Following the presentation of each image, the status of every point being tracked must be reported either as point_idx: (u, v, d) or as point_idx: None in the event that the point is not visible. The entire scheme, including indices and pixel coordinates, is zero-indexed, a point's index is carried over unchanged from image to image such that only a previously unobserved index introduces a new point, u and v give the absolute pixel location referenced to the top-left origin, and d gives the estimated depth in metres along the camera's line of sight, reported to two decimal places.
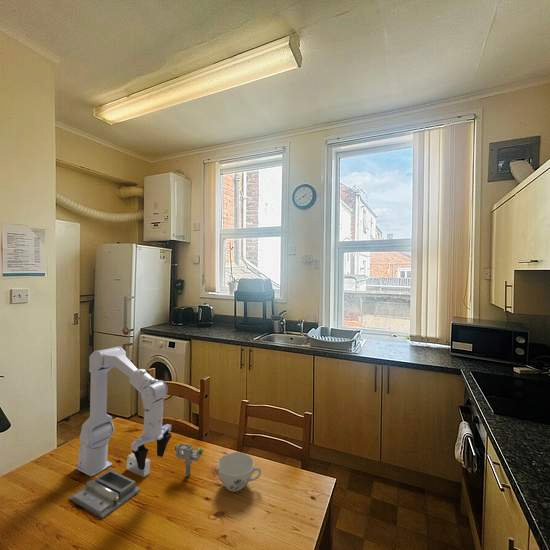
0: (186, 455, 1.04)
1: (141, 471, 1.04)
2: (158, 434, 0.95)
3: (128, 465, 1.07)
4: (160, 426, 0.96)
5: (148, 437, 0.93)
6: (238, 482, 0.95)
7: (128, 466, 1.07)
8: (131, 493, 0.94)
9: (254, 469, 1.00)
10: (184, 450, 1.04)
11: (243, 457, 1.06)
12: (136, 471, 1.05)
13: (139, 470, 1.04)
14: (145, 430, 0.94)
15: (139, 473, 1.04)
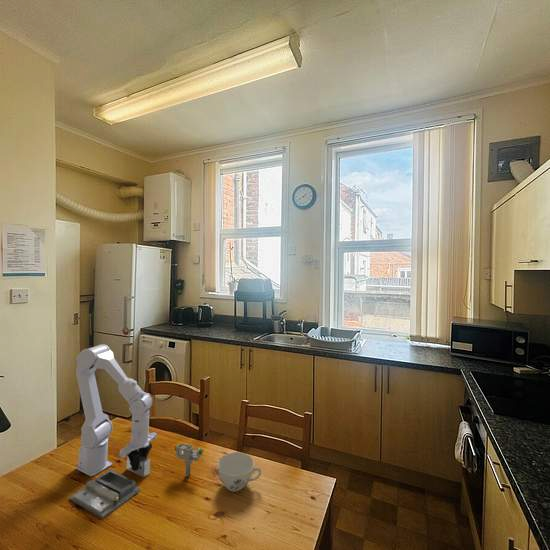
0: (186, 455, 1.04)
1: (141, 471, 1.04)
2: (144, 442, 1.05)
3: (128, 465, 1.07)
4: (146, 435, 1.06)
5: (135, 445, 1.04)
6: (238, 482, 0.95)
7: (128, 466, 1.07)
8: (131, 493, 0.94)
9: (254, 469, 1.00)
10: (184, 450, 1.04)
11: (243, 457, 1.06)
12: (136, 471, 1.05)
13: (139, 470, 1.04)
14: (132, 439, 1.04)
15: (139, 473, 1.04)
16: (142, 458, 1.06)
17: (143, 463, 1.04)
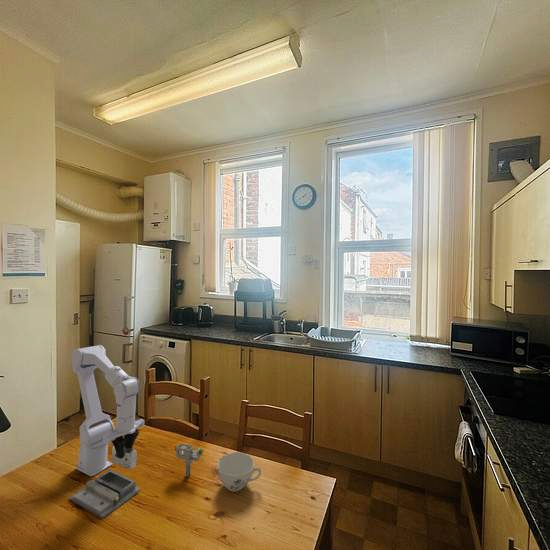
0: (186, 455, 1.04)
1: (127, 463, 0.98)
2: (130, 428, 0.99)
3: (113, 457, 1.00)
4: (132, 420, 1.00)
5: (120, 431, 0.97)
6: (238, 482, 0.95)
7: (113, 458, 1.00)
8: (131, 493, 0.94)
9: (254, 469, 1.00)
10: (184, 450, 1.04)
11: (243, 457, 1.06)
12: (122, 463, 0.99)
13: (125, 462, 0.98)
14: (117, 424, 0.98)
15: (125, 465, 0.98)
16: (128, 449, 1.00)
17: (129, 454, 0.97)
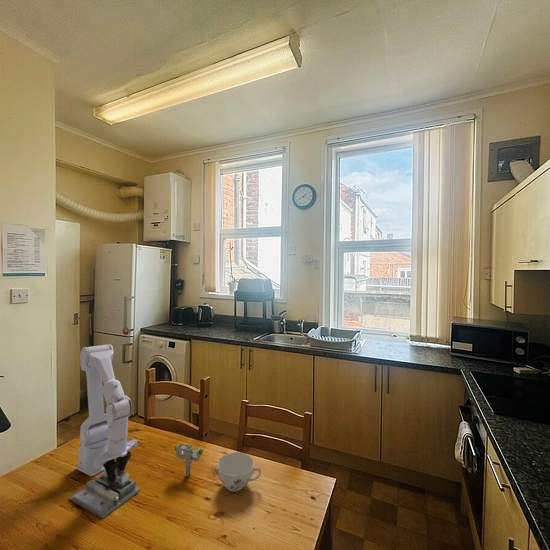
0: (186, 455, 1.04)
1: (118, 486, 0.95)
2: (122, 451, 0.96)
3: (105, 479, 0.97)
4: (124, 443, 0.97)
5: (111, 454, 0.94)
6: (238, 482, 0.95)
7: (105, 480, 0.97)
8: (131, 493, 0.94)
9: (254, 469, 1.00)
10: (184, 450, 1.04)
11: (243, 457, 1.06)
12: None
13: (116, 485, 0.95)
14: (109, 447, 0.95)
15: None
16: (120, 472, 0.97)
17: (120, 478, 0.94)
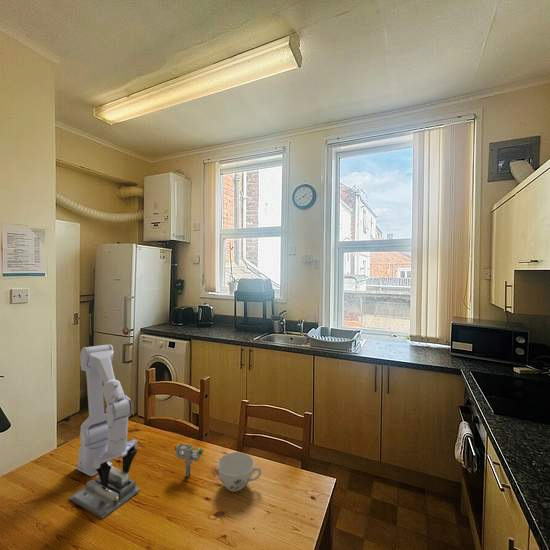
0: (186, 455, 1.04)
1: (118, 486, 0.95)
2: (122, 451, 0.96)
3: None
4: (124, 443, 0.97)
5: (111, 454, 0.94)
6: (238, 482, 0.95)
7: None
8: (131, 493, 0.94)
9: (254, 469, 1.00)
10: (184, 450, 1.04)
11: (243, 457, 1.06)
12: None
13: (116, 485, 0.95)
14: (109, 447, 0.95)
15: None
16: (120, 472, 0.97)
17: (120, 478, 0.94)
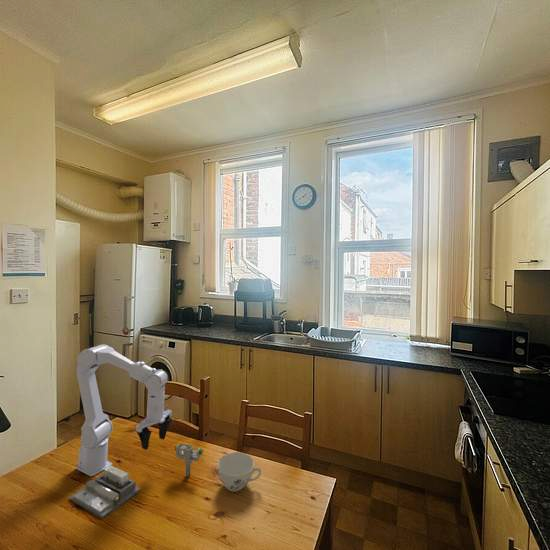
0: (186, 455, 1.04)
1: (118, 486, 0.95)
2: (160, 418, 1.05)
3: (105, 479, 0.97)
4: (162, 411, 1.06)
5: (151, 420, 1.04)
6: (238, 482, 0.95)
7: (105, 480, 0.97)
8: (131, 493, 0.94)
9: (254, 469, 1.00)
10: (184, 450, 1.04)
11: (243, 457, 1.06)
12: None
13: (116, 485, 0.95)
14: (148, 414, 1.04)
15: None
16: (120, 472, 0.97)
17: (120, 478, 0.94)
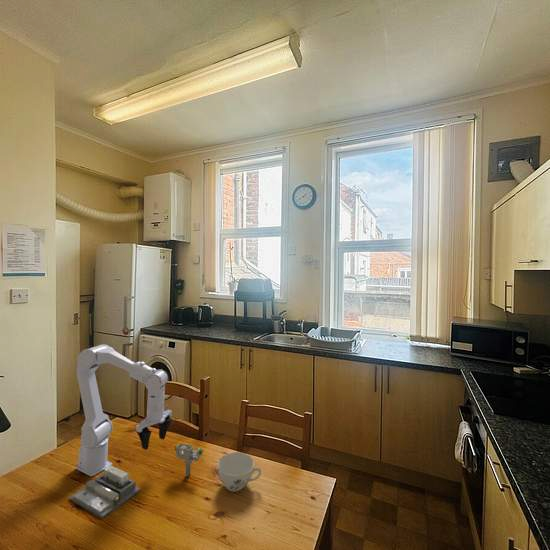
0: (186, 455, 1.04)
1: (118, 486, 0.95)
2: (160, 418, 1.05)
3: (105, 479, 0.97)
4: (162, 411, 1.06)
5: (151, 420, 1.04)
6: (238, 482, 0.95)
7: (105, 480, 0.97)
8: (131, 493, 0.94)
9: (254, 469, 1.00)
10: (184, 450, 1.04)
11: (243, 457, 1.06)
12: None
13: (116, 485, 0.95)
14: (148, 414, 1.04)
15: None
16: (120, 472, 0.97)
17: (120, 478, 0.94)
